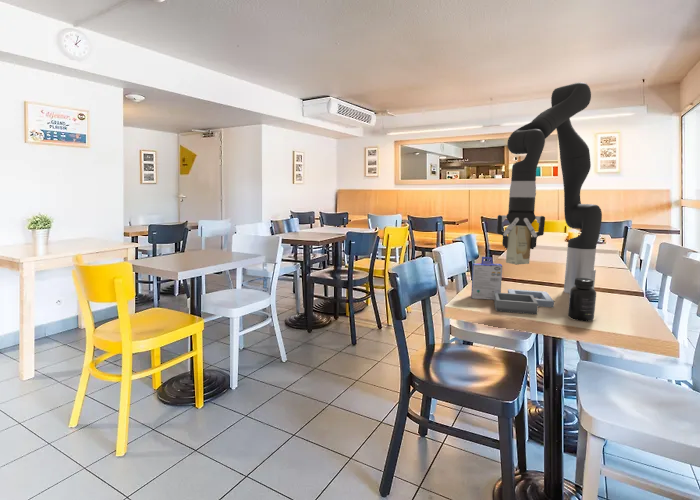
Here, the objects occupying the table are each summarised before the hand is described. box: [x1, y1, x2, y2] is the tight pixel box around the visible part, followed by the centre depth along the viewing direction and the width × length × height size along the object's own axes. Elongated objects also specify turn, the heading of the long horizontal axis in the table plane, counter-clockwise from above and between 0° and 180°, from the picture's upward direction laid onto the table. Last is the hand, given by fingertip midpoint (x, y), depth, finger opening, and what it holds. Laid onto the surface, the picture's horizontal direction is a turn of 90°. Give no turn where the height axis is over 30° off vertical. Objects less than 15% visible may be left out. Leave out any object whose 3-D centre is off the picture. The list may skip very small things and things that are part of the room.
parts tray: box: [493, 292, 539, 315], centre depth 133 cm, size 12×11×4 cm
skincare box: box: [505, 224, 532, 266], centre depth 130 cm, size 6×4×12 cm
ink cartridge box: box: [470, 256, 503, 301], centre depth 145 cm, size 10×6×14 cm, turn 79°
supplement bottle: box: [567, 278, 597, 322], centre depth 122 cm, size 7×7×12 cm
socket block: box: [507, 288, 555, 308], centre depth 143 cm, size 13×14×2 cm
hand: (518, 248), depth 130 cm, fingers closed on skincare box, 7 cm apart
